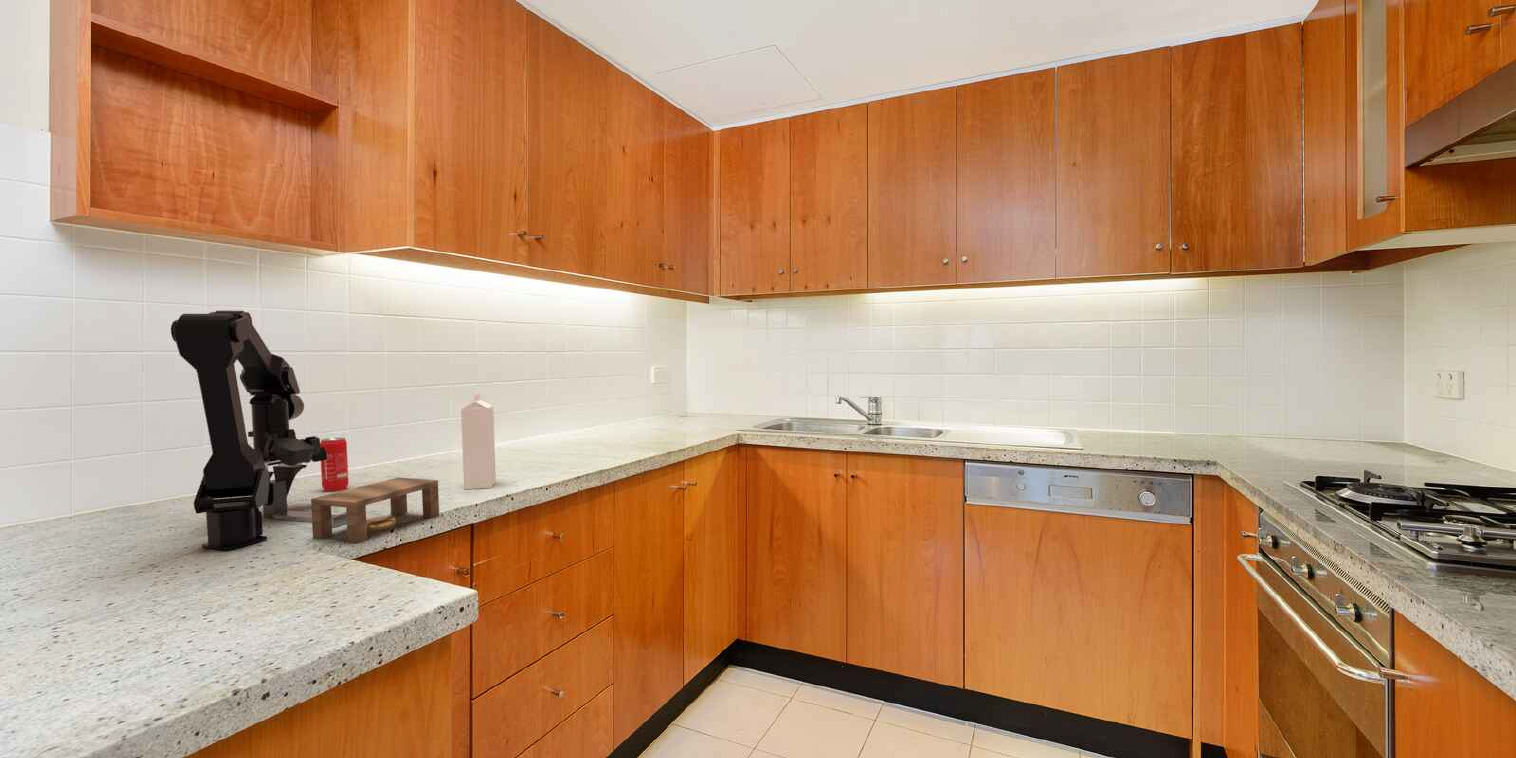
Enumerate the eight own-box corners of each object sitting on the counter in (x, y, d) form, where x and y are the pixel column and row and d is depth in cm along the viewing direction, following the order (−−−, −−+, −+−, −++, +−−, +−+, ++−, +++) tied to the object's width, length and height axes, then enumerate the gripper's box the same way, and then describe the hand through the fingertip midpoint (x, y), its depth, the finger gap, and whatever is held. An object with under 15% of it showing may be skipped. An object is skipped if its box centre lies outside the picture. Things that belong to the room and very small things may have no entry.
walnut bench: (356, 543, 107) (354, 502, 107) (312, 538, 110) (310, 498, 110) (439, 515, 124) (437, 480, 124) (399, 511, 127) (398, 477, 127)
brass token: (378, 532, 114) (378, 524, 114) (357, 530, 115) (357, 522, 115) (401, 525, 119) (401, 517, 119) (381, 523, 120) (380, 515, 120)
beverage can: (327, 493, 144) (324, 441, 144) (318, 490, 148) (316, 439, 147) (352, 488, 149) (350, 438, 148) (343, 486, 152) (341, 436, 151)
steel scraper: (333, 527, 117) (331, 490, 116) (254, 519, 123) (252, 484, 122) (362, 518, 122) (361, 483, 122) (285, 511, 128) (283, 477, 128)
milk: (496, 483, 154) (493, 392, 152) (491, 488, 148) (488, 394, 147) (469, 484, 152) (466, 393, 151) (463, 489, 146) (460, 395, 145)
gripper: (249, 433, 113) (254, 519, 114) (345, 420, 131) (349, 495, 131) (206, 431, 116) (211, 514, 117) (305, 419, 134) (309, 491, 135)
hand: (275, 503), depth 125 cm, fingers closed on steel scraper, 2 cm apart
